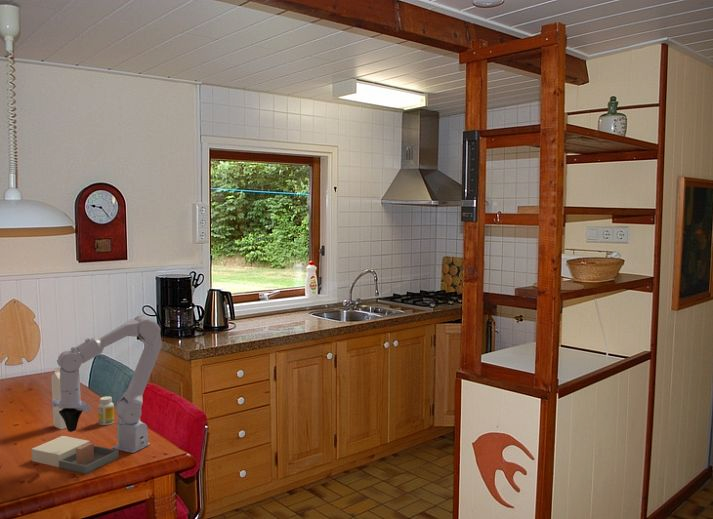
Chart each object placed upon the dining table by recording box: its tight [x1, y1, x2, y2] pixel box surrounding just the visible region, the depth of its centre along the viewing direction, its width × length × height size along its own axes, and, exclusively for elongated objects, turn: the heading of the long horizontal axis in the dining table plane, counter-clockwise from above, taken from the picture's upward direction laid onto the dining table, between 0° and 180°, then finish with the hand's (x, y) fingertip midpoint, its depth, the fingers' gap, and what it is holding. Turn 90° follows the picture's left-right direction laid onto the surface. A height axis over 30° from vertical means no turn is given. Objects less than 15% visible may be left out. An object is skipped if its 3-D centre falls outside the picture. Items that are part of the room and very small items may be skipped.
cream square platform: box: [30, 435, 91, 468], centre depth 195 cm, size 12×12×4 cm
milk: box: [50, 367, 67, 430], centre depth 222 cm, size 6×6×22 cm
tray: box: [58, 445, 120, 475], centre depth 191 cm, size 11×13×2 cm
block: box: [76, 442, 94, 465], centre depth 191 cm, size 5×5×2 cm
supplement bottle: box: [97, 395, 115, 426], centre depth 225 cm, size 5×5×10 cm
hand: (72, 430), depth 193 cm, fingers closed
